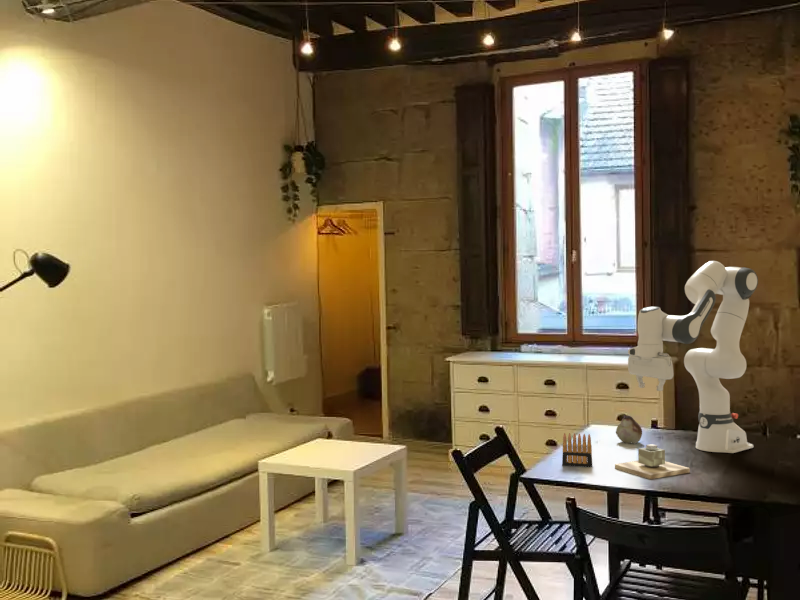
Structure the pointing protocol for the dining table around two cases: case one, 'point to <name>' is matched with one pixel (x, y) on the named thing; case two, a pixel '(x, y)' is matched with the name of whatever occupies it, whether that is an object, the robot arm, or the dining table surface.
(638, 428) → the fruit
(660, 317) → the robot arm
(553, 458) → the dining table surface
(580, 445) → the ammunition clip
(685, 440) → the dining table surface
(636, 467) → the shaft board
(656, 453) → the collar
